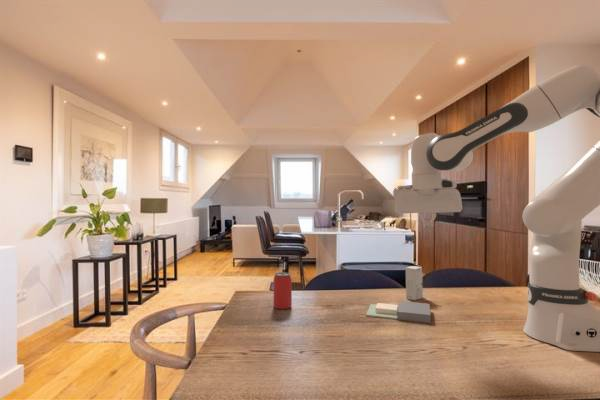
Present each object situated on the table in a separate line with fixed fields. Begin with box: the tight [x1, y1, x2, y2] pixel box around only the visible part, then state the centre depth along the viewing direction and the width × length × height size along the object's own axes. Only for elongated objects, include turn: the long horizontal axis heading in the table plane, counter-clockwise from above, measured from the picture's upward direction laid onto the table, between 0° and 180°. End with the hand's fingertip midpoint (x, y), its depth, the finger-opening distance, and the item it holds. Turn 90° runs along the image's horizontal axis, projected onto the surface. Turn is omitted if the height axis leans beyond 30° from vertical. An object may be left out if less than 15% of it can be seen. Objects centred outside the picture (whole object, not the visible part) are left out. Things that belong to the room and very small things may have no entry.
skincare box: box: [405, 265, 424, 301], centre depth 129 cm, size 6×4×12 cm
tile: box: [375, 302, 399, 315], centre depth 112 cm, size 7×6×2 cm
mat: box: [365, 303, 398, 320], centre depth 112 cm, size 10×12×1 cm
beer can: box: [272, 271, 293, 310], centre depth 118 cm, size 7×7×12 cm
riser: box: [396, 300, 432, 324], centre depth 109 cm, size 10×12×2 cm
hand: (428, 227), depth 105 cm, fingers closed
